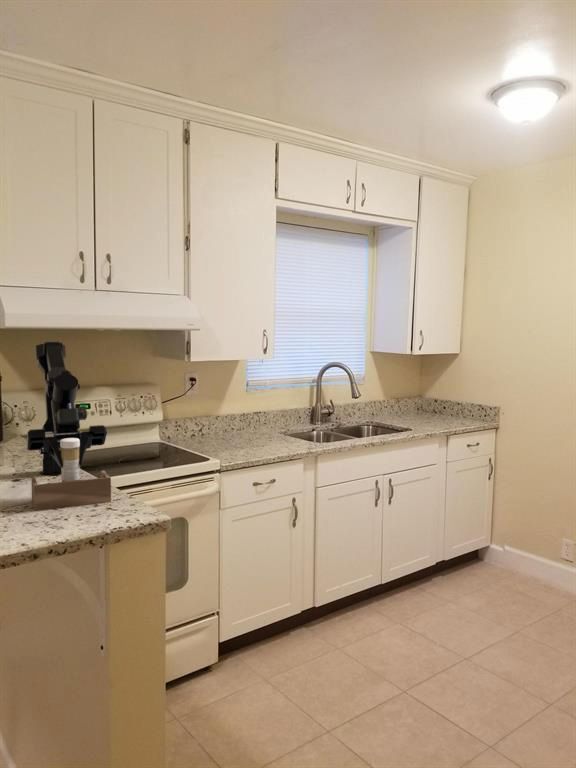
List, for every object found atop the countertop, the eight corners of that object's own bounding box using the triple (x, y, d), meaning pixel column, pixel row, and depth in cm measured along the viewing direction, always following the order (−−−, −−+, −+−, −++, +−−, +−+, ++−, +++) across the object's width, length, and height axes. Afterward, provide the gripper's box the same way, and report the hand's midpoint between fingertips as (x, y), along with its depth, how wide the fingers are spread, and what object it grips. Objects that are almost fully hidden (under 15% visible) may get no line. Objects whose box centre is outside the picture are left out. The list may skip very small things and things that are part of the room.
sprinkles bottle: (64, 489, 151) (62, 437, 150) (82, 489, 151) (81, 437, 150) (59, 494, 146) (57, 440, 145) (78, 494, 147) (77, 440, 146)
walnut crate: (31, 501, 148) (31, 477, 147) (104, 493, 156) (104, 470, 155) (34, 510, 141) (34, 485, 140) (111, 501, 149) (110, 477, 148)
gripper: (26, 397, 146) (31, 450, 137) (104, 394, 154) (114, 444, 146) (25, 424, 153) (29, 475, 145) (99, 419, 162) (108, 468, 153)
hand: (71, 465), depth 147 cm, fingers closed on sprinkles bottle, 4 cm apart
